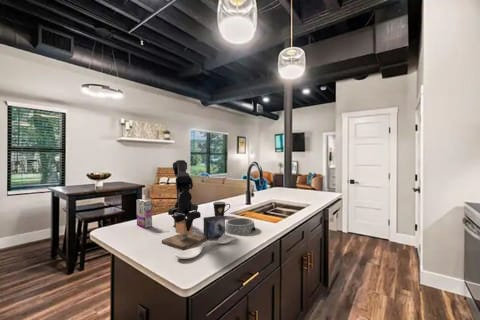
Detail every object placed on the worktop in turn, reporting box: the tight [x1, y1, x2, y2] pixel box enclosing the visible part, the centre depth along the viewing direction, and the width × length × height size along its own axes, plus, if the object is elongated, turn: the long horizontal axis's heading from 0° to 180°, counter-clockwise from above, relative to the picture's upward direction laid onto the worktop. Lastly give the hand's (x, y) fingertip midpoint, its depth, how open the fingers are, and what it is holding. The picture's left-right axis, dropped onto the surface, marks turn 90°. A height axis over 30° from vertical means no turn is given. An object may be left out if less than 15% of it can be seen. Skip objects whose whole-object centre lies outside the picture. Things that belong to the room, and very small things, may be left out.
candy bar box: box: [135, 198, 153, 229], centre depth 149 cm, size 11×5×16 cm, turn 49°
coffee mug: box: [212, 201, 231, 218], centre depth 169 cm, size 12×9×10 cm
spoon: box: [174, 232, 237, 260], centre depth 111 cm, size 9×32×4 cm, turn 137°
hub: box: [175, 220, 194, 235], centre depth 121 cm, size 6×6×5 cm
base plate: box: [161, 232, 208, 251], centre depth 121 cm, size 16×16×4 cm
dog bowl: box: [225, 217, 257, 236], centre depth 139 cm, size 17×18×5 cm
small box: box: [202, 215, 226, 241], centre depth 128 cm, size 11×6×10 cm, turn 117°
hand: (184, 229), depth 121 cm, fingers closed on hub, 6 cm apart
